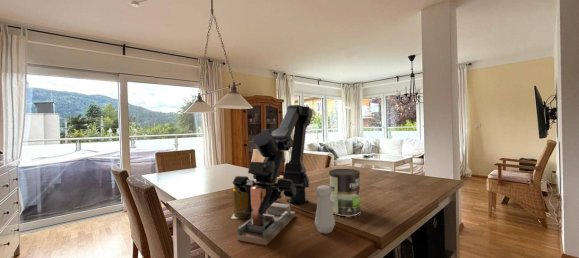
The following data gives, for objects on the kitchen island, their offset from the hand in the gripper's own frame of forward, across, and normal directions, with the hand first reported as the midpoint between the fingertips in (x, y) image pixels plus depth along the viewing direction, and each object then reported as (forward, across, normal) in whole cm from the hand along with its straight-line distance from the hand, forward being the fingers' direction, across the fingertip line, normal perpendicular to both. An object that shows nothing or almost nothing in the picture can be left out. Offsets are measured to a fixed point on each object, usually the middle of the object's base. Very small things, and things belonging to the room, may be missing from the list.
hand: (254, 213), depth 69 cm
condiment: (-5, -13, +16) cm, 21 cm away
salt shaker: (-3, +17, +13) cm, 21 cm away
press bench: (-1, 0, +11) cm, 11 cm away
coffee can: (-14, +20, +25) cm, 35 cm away
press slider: (+2, 0, +6) cm, 6 cm away
